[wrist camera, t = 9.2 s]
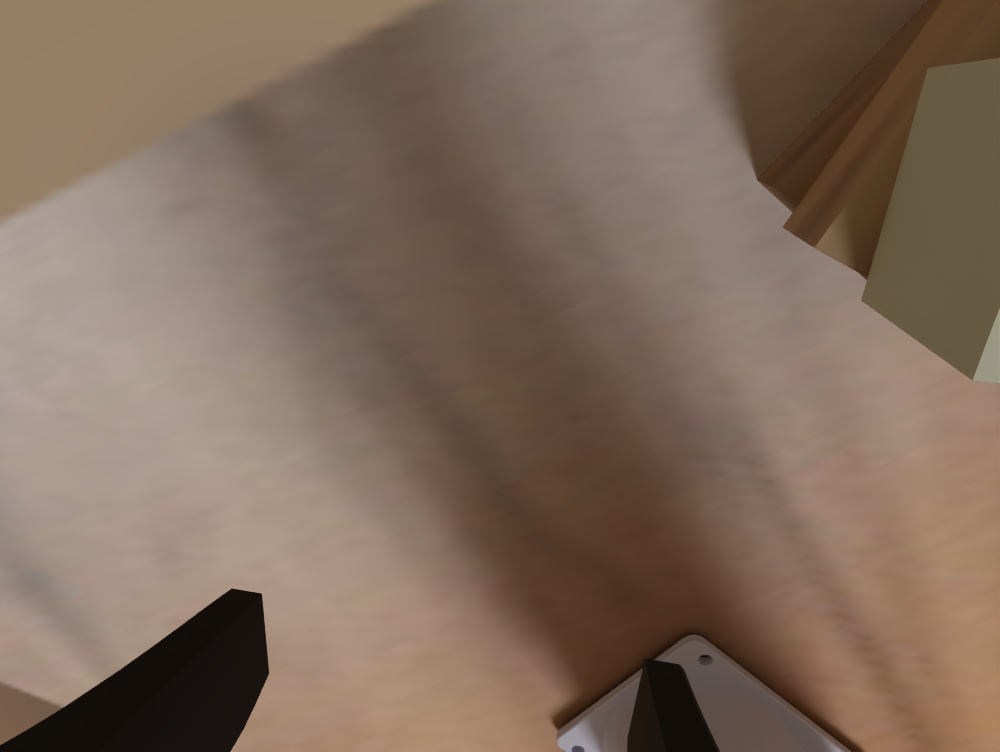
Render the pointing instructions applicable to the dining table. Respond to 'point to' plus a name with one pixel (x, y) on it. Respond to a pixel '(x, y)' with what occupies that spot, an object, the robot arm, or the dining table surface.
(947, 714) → the dining table surface
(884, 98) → the tower top
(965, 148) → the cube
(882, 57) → the tower bottom
